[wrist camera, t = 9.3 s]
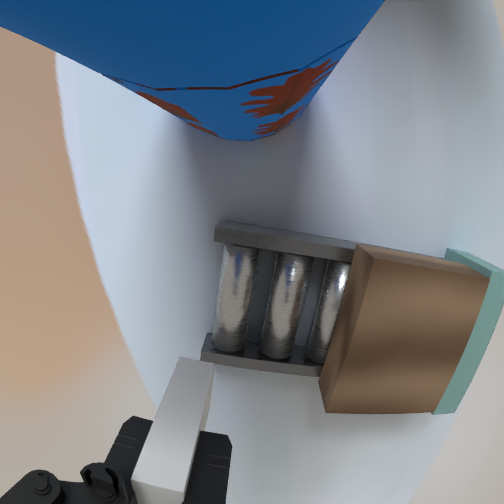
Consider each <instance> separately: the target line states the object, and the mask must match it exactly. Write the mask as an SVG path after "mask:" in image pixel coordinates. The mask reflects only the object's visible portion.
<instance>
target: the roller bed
mask: <svg viewBox="0 0 504 504" xmlns="http://www.w3.org/2000/svg"><path fill="white" fill-rule="evenodd" d="M214 241H217V242H224V247H223V254H222V262H221V269H220V277H219V285H218V292H217V300H216V308H215V317H214V325H213V333H212V334H211V333H207V335H206V338H205V341H204V344H203V347H202V350H201V359H200V361H205V362H210V363H215V364H221V365H227V366H233V367H240V368H247V369H254V370H261V371H269V372H277V373H286V374H295V375H305V376H316V377H320V376H321V372H322V369H323V366H324V363H325V360H326V356H327V353H328V350H329V347H330V343H331V340H332V336H333V333H334V329H335V326H336V322H337V319H338V315H339V312H340V308H341V304H342V300H343V297H344V293H345V289H346V285H347V281H348V277H349V273H350V269H351V264H352V260H353V256H354V251H355V247H356V243H357V242H352V241H346V240H340V239H335V238H329V237H323V236H317V235H311V234H305V233H299V232H293V231H287V230H281V229H275V228H268V227H262V226H256V225H249V224H243V223H236V222H230V221H223V220H221V221H220V222H219V223H218V225H217V226H216V228H215V235H214ZM357 244H363V243H357ZM363 245H368V246H374V245H369V244H363ZM374 247H379V248H385V247H380V246H374ZM261 248H262V249H268V250H275V251H277V255H276V260H275V266H274V271H273V277H272V282H271V288H270V293H269V299H268V304H267V309H266V315H265V320H264V325H263V330H262V336H261V341H255V340H248V339H246V337H247V331H248V325H249V319H250V313H251V307H252V301H253V295H254V289H255V283H256V277H257V271H258V265H259V259H260V253H261ZM385 249H390V250H395V251H401V250H396V249H391V248H385ZM401 252H406V253H411V254H417V253H412V252H407V251H401ZM417 255H422V256H427V257H432V258H437V259H442V260H446V259H443V258H438V257H433V256H428V255H423V254H417ZM314 257H319V258H325V259H328V262H327V267H326V272H325V276H324V280H323V285H322V289H321V293H320V298H319V302H318V306H317V310H316V314H315V318H314V322H313V326H312V330H311V334H310V338H309V342H308V345H307V347H301V346H294V343H295V339H296V335H297V331H298V327H299V323H300V318H301V314H302V310H303V305H304V301H305V296H306V292H307V287H308V283H309V278H310V273H311V269H312V264H313V259H314ZM447 261H448V260H447Z"/></svg>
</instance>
